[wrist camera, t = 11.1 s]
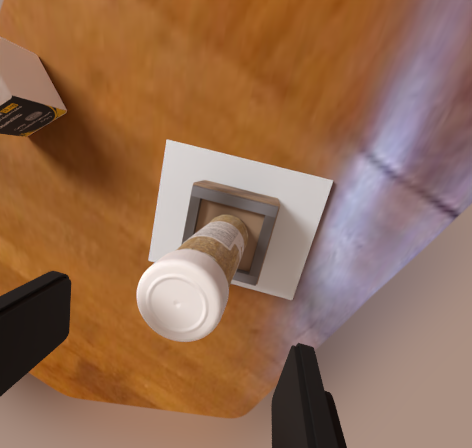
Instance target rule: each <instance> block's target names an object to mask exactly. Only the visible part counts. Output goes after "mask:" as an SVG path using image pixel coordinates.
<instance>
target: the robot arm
mask: <svg viewBox="0 0 472 448" xmlns="http://www.w3.org/2000/svg"><path fill="white" fill-rule="evenodd" d="M70 299H71V280H69V277H68V275H66V274H63V273H59V272H56V271H50V272H48V273H46V274H44V275H42V276H40V277H38V278H36V279H34V280H32V281H30V282H28V283H26V284H24V285H22V286H20V287H18V288H16V289H14V290H12V291H10V292H8V293H6V294H4V295H2V296H0V396H2V395H3V394H4V393H5V392H6V391H7V390H8V389H9V388H11V387H12V386H13V385H14V384H15V383H16V382H18V381H19V380H20V379H21V378H22V377H23V376H24V375H26V374H27V373H28V372H29V371H30V370H31V369H32V368H34V367H35V366H36V365H37V364H38V363H39V362H40V361H42V360H43V359H44V358H45V357H46V356H47V355H48V354H50V353H51V352H52V351H53V350H54V349H55V348H56V347H58V346H59V345H60V344H61V343H62V342H63V341H64V340H65V339H66V338H67V336H68V334H69V323H70ZM272 448H347V446H346V443H345V439H344V436H343V432H342V428H341V425H340V421H339V417H338V414H337V410H336V406H335V403H334V400H333V397H332V395H331V393H330V392H327V391H324V387H323V384H322V379H321V375H320V371H319V367H318V363H317V359H316V355H315V351H314V348H313V347H310V346H307V345H304V344H300V343H298V344H297V345H296V346H292V347H291V349H290V352H289V354H288V357H287V360H286V362H285V365H284V368H283V370H282V373H281V376H280V378H279V381H278V384H277V386H276V389H275V392H274V395H273V398H272Z"/></svg>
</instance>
